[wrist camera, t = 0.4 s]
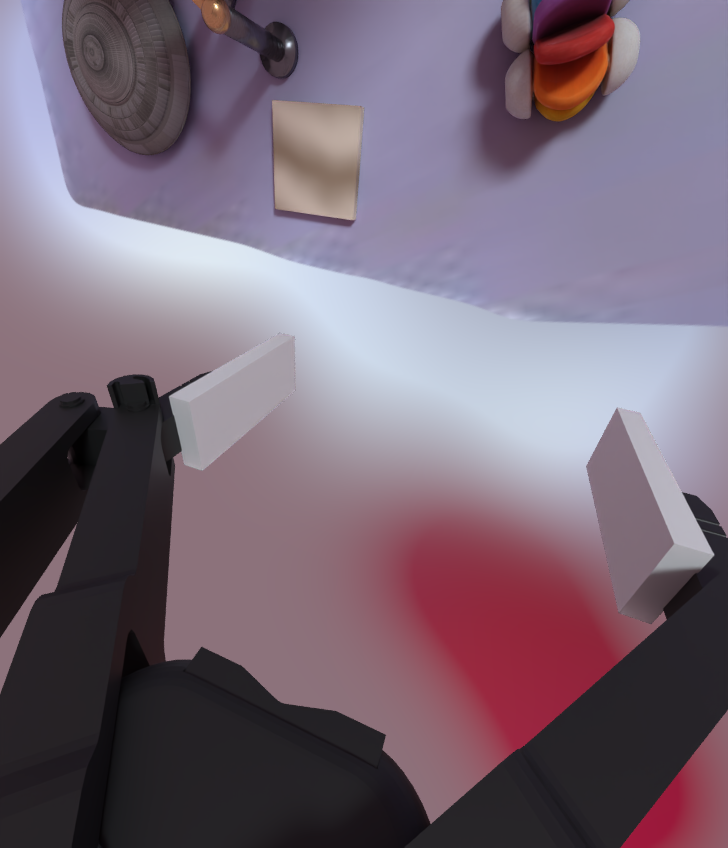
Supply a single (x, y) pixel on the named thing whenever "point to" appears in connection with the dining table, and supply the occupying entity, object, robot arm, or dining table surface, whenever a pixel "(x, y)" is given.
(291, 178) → the coaster
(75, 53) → the flying saucer
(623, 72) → the rainbow disc toy
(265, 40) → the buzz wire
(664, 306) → the dining table surface
